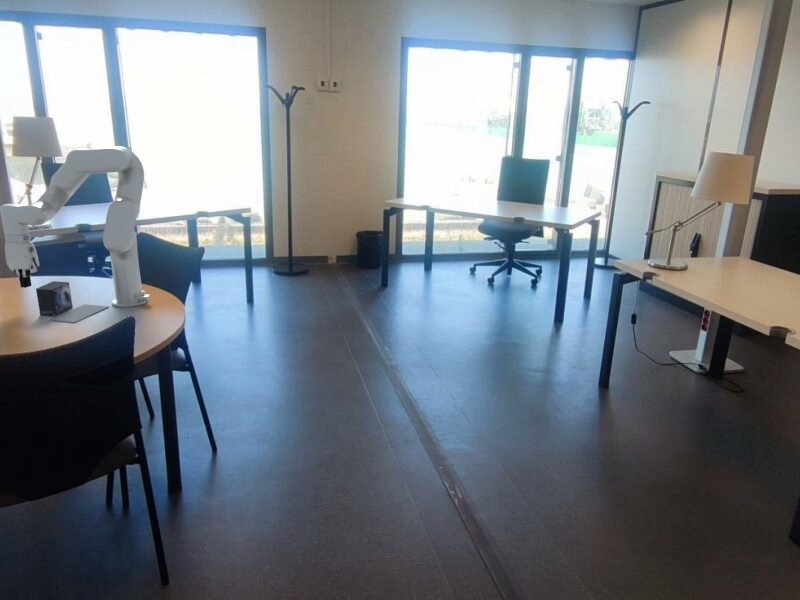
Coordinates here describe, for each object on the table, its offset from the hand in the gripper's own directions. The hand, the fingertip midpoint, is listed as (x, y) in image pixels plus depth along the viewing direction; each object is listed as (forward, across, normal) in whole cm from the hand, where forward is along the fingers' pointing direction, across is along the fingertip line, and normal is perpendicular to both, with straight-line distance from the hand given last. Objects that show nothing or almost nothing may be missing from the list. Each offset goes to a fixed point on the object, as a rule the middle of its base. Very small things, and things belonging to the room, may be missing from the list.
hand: (26, 286), depth 204 cm
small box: (+9, -11, 0) cm, 15 cm away
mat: (+9, -21, 0) cm, 23 cm away
